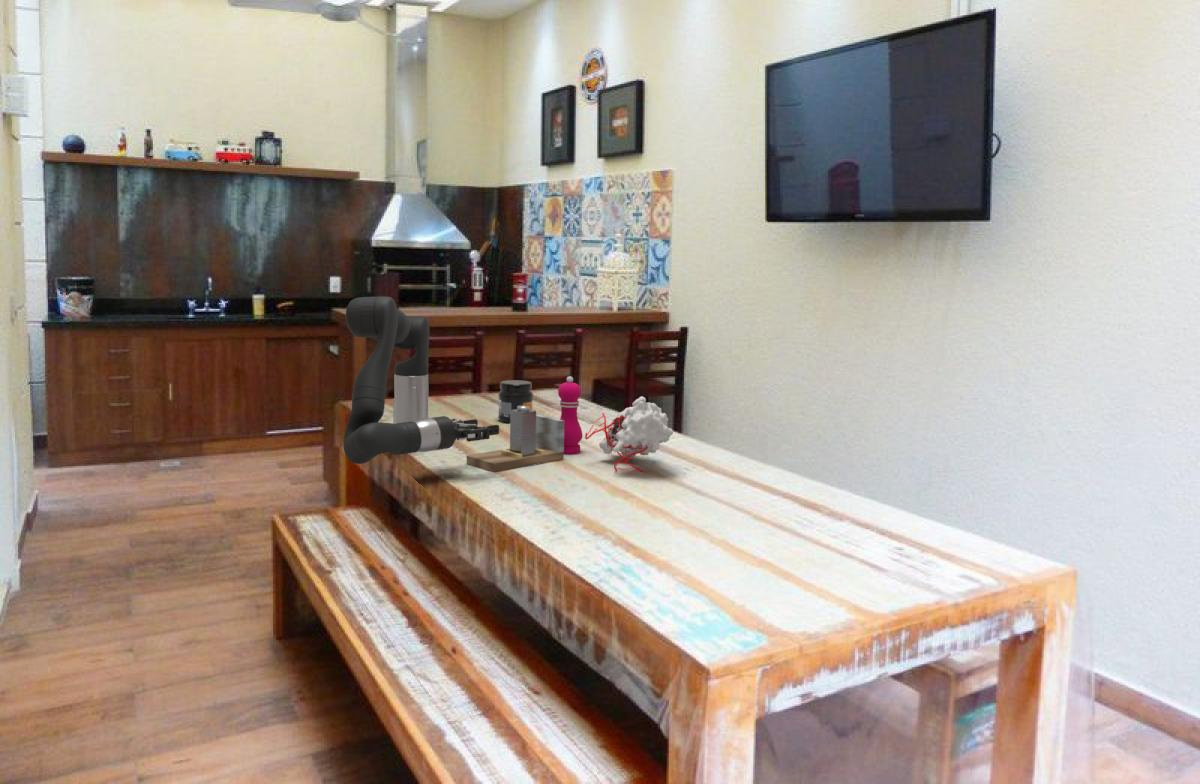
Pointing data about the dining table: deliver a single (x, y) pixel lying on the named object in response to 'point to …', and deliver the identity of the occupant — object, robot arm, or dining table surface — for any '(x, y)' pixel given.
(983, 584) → the dining table surface
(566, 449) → the pepper mill
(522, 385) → the supplement container
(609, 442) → the lumpy white molecule
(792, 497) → the dining table surface
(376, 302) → the robot arm
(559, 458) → the wooden base metal fixture
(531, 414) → the metal square bar
